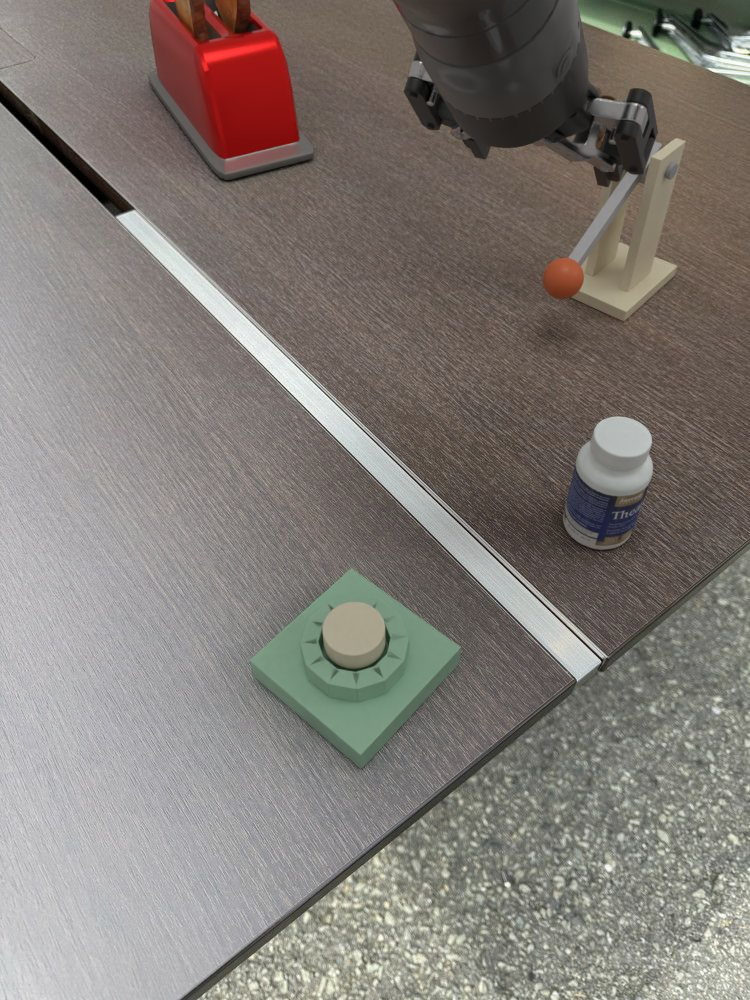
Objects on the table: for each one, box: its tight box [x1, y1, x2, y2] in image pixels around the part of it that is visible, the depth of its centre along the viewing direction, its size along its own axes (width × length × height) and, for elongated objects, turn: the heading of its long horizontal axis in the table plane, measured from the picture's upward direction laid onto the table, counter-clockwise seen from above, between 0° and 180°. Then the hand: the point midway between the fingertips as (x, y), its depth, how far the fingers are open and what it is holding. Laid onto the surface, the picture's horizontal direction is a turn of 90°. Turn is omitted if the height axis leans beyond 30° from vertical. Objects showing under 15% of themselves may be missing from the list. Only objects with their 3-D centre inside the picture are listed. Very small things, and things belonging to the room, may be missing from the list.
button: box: [322, 602, 385, 669], centre depth 54 cm, size 4×4×2 cm
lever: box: [542, 141, 664, 300], centre depth 76 cm, size 16×4×4 cm
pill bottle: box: [562, 415, 654, 550], centre depth 62 cm, size 5×5×10 cm
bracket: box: [570, 137, 687, 323], centre depth 80 cm, size 10×8×15 cm
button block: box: [248, 567, 462, 770], centre depth 56 cm, size 10×10×4 cm
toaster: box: [147, 0, 315, 181], centre depth 104 cm, size 32×13×19 cm, turn 26°
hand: (545, 157), depth 56 cm, fingers open, 8 cm apart
